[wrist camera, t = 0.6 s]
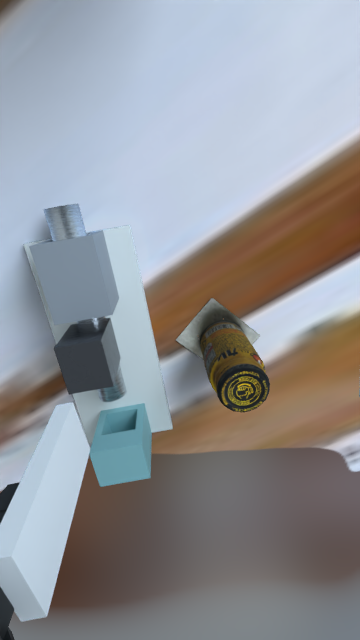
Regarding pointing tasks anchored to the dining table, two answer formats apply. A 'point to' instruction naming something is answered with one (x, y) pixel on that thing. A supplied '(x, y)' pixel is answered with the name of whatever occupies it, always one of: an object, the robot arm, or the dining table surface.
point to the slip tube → (86, 330)
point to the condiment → (228, 356)
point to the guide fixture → (131, 336)
